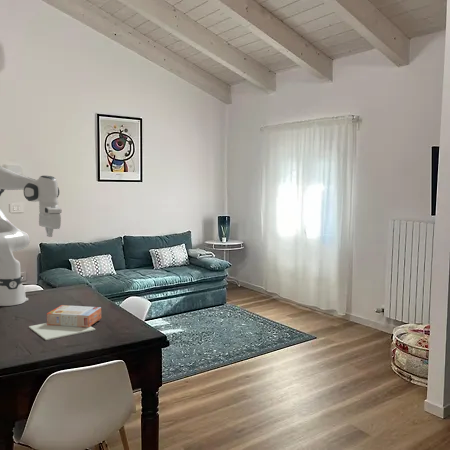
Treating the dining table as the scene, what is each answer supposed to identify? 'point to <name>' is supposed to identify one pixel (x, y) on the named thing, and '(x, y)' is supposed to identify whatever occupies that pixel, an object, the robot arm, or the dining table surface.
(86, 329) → the mat
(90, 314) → the cracker box
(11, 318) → the dining table surface
